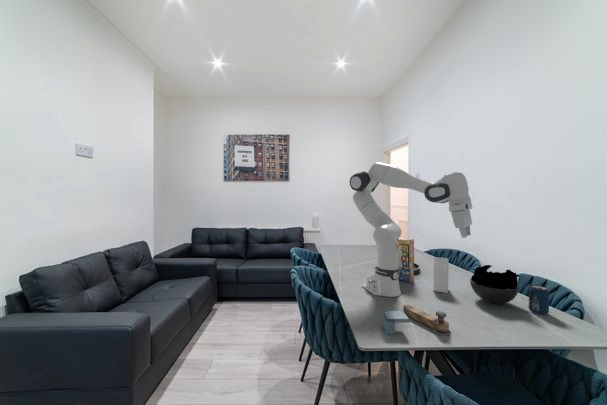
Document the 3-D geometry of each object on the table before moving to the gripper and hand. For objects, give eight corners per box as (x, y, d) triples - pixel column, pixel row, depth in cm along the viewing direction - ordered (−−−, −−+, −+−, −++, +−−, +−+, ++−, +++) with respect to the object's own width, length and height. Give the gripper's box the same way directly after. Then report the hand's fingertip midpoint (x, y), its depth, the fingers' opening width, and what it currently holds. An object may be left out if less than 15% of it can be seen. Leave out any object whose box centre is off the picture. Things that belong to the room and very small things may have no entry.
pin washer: (427, 328, 103) (427, 328, 103) (438, 324, 106) (438, 324, 106) (443, 337, 97) (443, 336, 97) (454, 332, 100) (454, 332, 100)
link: (451, 331, 101) (452, 314, 100) (443, 334, 98) (443, 317, 98) (408, 310, 119) (408, 296, 119) (400, 312, 116) (400, 298, 116)
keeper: (387, 334, 99) (387, 318, 99) (382, 325, 106) (382, 310, 106) (408, 334, 99) (409, 319, 99) (402, 325, 106) (402, 310, 106)
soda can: (546, 311, 119) (546, 286, 119) (551, 317, 113) (551, 290, 113) (526, 308, 123) (527, 283, 122) (530, 313, 117) (531, 288, 116)
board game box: (414, 280, 162) (414, 239, 162) (410, 283, 158) (411, 240, 157) (384, 274, 176) (384, 235, 176) (380, 276, 172) (380, 236, 171)
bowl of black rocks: (461, 294, 140) (462, 260, 139) (498, 294, 139) (499, 261, 139) (486, 310, 120) (487, 271, 119) (529, 311, 119) (530, 271, 119)
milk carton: (447, 293, 141) (448, 259, 141) (433, 291, 145) (433, 258, 144) (448, 289, 147) (448, 257, 147) (434, 287, 151) (434, 255, 151)
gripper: (457, 207, 126) (462, 234, 124) (447, 208, 110) (453, 239, 109) (472, 205, 121) (478, 233, 120) (464, 205, 106) (470, 238, 105)
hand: (466, 236), depth 114 cm, fingers open, 8 cm apart
